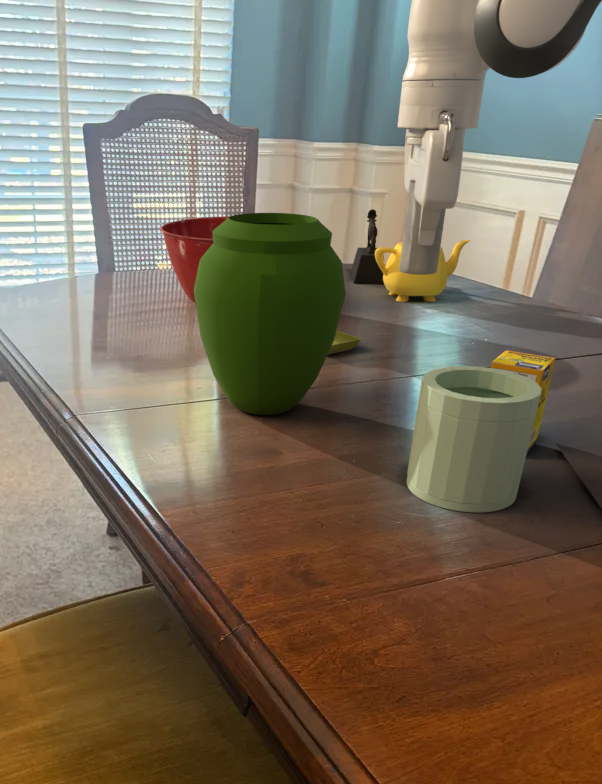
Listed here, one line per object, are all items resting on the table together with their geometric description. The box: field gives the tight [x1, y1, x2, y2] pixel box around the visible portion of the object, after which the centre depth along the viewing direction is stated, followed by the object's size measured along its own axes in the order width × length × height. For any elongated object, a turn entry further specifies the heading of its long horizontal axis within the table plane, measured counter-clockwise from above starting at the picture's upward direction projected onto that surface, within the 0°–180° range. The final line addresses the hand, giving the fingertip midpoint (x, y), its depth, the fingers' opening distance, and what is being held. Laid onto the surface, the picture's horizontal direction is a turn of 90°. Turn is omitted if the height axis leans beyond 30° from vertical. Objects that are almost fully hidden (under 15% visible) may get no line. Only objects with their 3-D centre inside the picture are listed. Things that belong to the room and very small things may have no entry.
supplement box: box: [490, 349, 556, 455], centre depth 93 cm, size 6×6×11 cm
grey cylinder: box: [400, 180, 447, 275], centre depth 93 cm, size 4×4×10 cm
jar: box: [406, 365, 542, 514], centre depth 82 cm, size 12×12×12 cm
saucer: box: [327, 329, 362, 356], centre depth 131 cm, size 9×9×2 cm
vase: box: [194, 212, 346, 416], centre depth 101 cm, size 20×20×24 cm
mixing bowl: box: [160, 216, 230, 304], centre depth 155 cm, size 28×28×16 cm
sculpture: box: [349, 209, 385, 285], centre depth 180 cm, size 8×13×15 cm, turn 171°
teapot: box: [375, 239, 472, 303], centre depth 164 cm, size 13×20×12 cm
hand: (422, 240), depth 94 cm, fingers closed on grey cylinder, 4 cm apart
